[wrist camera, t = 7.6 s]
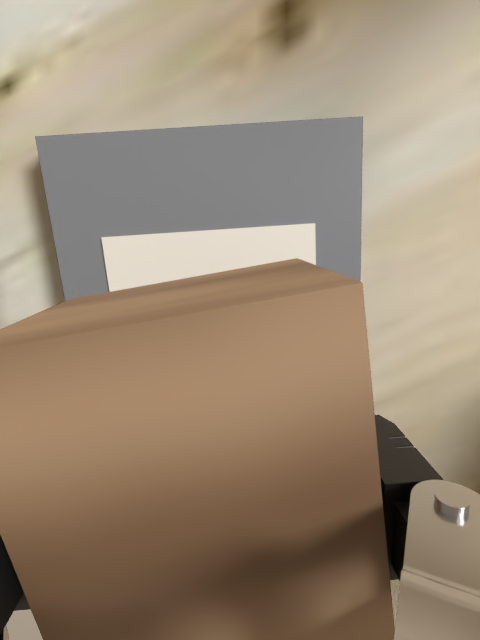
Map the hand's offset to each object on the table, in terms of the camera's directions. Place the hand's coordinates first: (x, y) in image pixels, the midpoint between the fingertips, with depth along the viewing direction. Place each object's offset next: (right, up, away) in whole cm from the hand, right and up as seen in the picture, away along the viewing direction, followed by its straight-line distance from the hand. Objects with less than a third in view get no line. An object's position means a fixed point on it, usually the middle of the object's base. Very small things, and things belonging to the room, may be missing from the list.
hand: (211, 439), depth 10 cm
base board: (0, +2, +8) cm, 8 cm away
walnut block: (0, 0, +1) cm, 1 cm away
